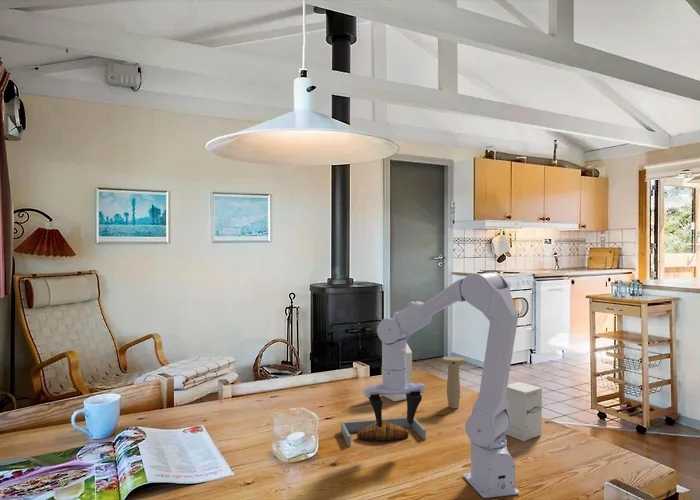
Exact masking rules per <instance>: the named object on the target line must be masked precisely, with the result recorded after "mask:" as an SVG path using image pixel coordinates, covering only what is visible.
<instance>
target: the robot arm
mask: <svg viewBox="0 0 700 500" xmlns="http://www.w3.org/2000/svg"><path fill="white" fill-rule="evenodd" d="M457 302H460V303H462V302H467V303H468V304H470V305H471V306H472V307H474V308H475V309H477V310H479V311H480V312H482V314H483V315H484V316H485V317H486V319H487V320H488V321H489V327H488V333H487V341H486V348H485V353H484V360H483V367H482V373H481V380H480V388H479V393H478V395H477V399H476V400H475V402H474V404H473V406H472V410H471V414H470V416H469V417H468V418H467V420H466V422H465V428H464V429H465V433H466V435H467V437H468V439H469V440H470V472H466V473H463V475H462V476H463V477H464V479H465V480H466V481H467V482H468V483H469V484H470V485H471V486H472V487H473V489H474V490H475V491H476V492H477V493H478V494H479V495H480V497H482V498H484V499H489V498H496V497H506V496H514V495H519V494H520V490H519V489H517V488H516V462H515V460H514V458H513V457H512V455H511V454H510V452H509V451H508V446H507V442H508V441H507V436H506V434H505V432H506V431H507V430H508V429H509V427H510V424H511V419H510V415H509V411H508V407H509V402H508V401H507V400H506V398H505V397H506V391H507V385H509V377H510V371H511V364H512V360H513V359H512V358H513V353H514V346H515V339H516V333H517V326H518V321H519V314H518V310H517V307H516V305H515V303H514V299H513V296H512V294H511V284H510V283H509V282H508V280H506V279H505V278H504V277H503V276H502V275H501V274H499V273H498V272H496V271H487V272H484V273H471V274H468V275H466V276H465V277H464V278H461V279H458V280H456V281H454V282H453V283H451V284H450V285H449V286H447V287H445V288H444V289H443V290H441V291H440V292H438V293H437V294H435V295H434V296H433V297H431V298H430V299H428V300H426V301H425V302H423V301H419V300H418V301H417V300H416V301H410V302H408V303H407V307H405V308H404V309H402V310H400V311H395V312H394V313H393V314H392V315H393V316H392V317H390V318H383V319H382V320H381V321H380V322H379V323H378V325H377V328H376V334H377V336H378V338H379V340H380V341H381V380H382V381H381V384H380V383H379V384H377V385H376V384H375V385H372V386H371V385H370V386H364V387H363V396H364V397H365V398H368V400H369V402H370V404H371V407H372V409H373V412H374V416H375V420H376V422H377V425H378V427H382V419H383V418H382V413H383V412H382V409H383V402H384V401H383V400H382V397H381V396H383V395H394V394H406V398H407V399H406V417H407V422H408V423H409V424H410V425H412V424H413V420H414V418H415V416H416V412H417V409H418V407H419V404H420V403H421V402H422V398H423V396H422V394H425V384H423V383H422V382H416V383H415V382H412V383H406V345H407V344H408V338H409V337H410V335H412V334H413V333H415V332H417V331H419V330H420V329H422V328H424V327H426V326H428V325H429V324H430V323H432V322H431V321H432V318H433V315H435V314H437V313H439V312H441V311H442V310H444V309H446V308H447V307H450V306H452V305H453V304H455V303H457Z"/></svg>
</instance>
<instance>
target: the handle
mask: <svg viewBox="0 0 700 500" xmlns="http://www.w3.org/2000/svg"><path fill="white" fill-rule="evenodd" d="M442 363H443V364H444V365H446V366H447V379H446V380H447V381H446V398H447V405H448V408H449V409H459V408H460V407H459V406H460V400H461V398H460V397H461V381H460V367H461V366H462V365H464V364H465V357H461V356H443V357H442Z"/></svg>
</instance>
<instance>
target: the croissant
mask: <svg viewBox="0 0 700 500" xmlns="http://www.w3.org/2000/svg"><path fill="white" fill-rule="evenodd" d="M356 437H357V439H358V440H362V441H373V442H374V441H377V442H388V441H389V442H390V441H398V440H403V439H408V438H409V430H407V428H405V427H400V426H397V425H395V424H391V423H389V422H388V421H384V420H382V427H378V425H377V422H375V423H373V424H372V425H369V426H367V427H365V428H363V429H361V430H360V431H357V434H356Z"/></svg>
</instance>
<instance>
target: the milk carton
mask: <svg viewBox="0 0 700 500" xmlns="http://www.w3.org/2000/svg"><path fill="white" fill-rule="evenodd" d="M406 383H413V351H412V350H411V348H410V346H409V344H408V343H407V345H406ZM382 396H383V397H384V398H386V399H388V400H390V401H392V402H398V401H404V400H407V398H406V394H394V395H382Z"/></svg>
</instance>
